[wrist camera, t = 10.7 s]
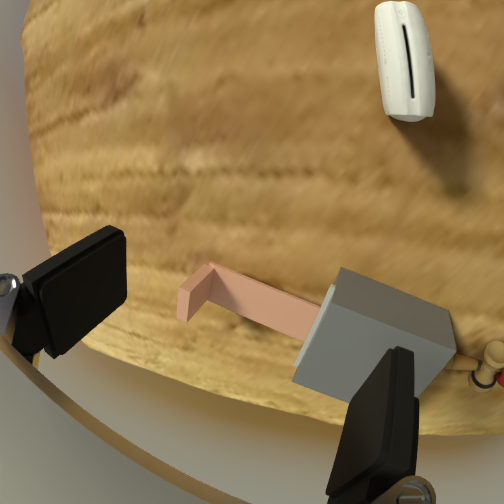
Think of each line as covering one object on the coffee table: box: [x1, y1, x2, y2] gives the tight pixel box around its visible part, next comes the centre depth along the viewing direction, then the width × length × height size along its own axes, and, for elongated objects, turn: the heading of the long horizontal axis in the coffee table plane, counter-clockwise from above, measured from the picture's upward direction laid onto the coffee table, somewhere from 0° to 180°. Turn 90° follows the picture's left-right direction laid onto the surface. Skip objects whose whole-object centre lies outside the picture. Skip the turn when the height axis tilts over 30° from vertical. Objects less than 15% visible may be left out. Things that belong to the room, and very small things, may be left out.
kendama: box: [443, 341, 504, 393], centre depth 34 cm, size 8×6×18 cm
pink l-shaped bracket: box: [176, 262, 321, 342], centre depth 38 cm, size 18×6×6 cm, turn 76°
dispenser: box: [292, 267, 457, 403], centre depth 37 cm, size 17×14×8 cm
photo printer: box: [375, 1, 435, 122], centre depth 22 cm, size 10×4×12 cm, turn 6°
